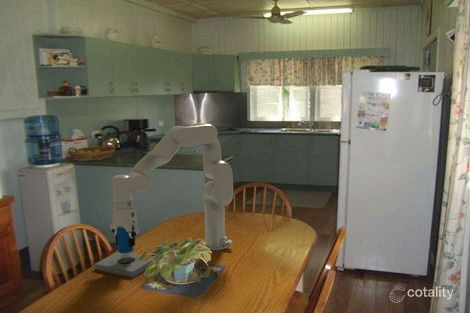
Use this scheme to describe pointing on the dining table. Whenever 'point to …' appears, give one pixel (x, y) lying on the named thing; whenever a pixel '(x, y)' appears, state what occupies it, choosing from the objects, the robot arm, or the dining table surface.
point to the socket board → (128, 269)
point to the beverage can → (123, 241)
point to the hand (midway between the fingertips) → (125, 244)
